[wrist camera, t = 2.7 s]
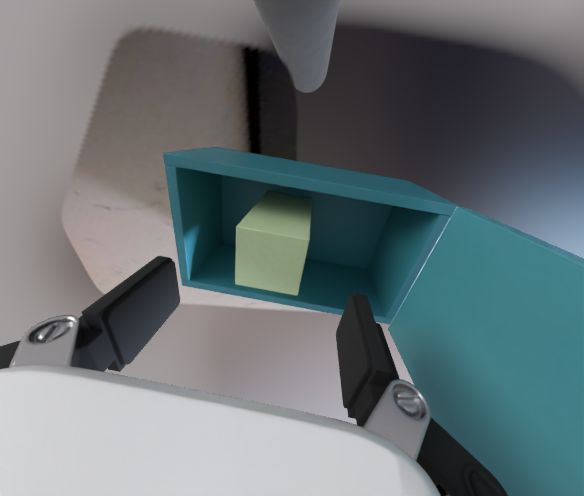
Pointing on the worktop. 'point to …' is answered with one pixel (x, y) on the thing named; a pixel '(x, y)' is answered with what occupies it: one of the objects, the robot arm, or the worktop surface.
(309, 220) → the carton
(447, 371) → the lunchbox lid
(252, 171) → the box
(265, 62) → the worktop surface
